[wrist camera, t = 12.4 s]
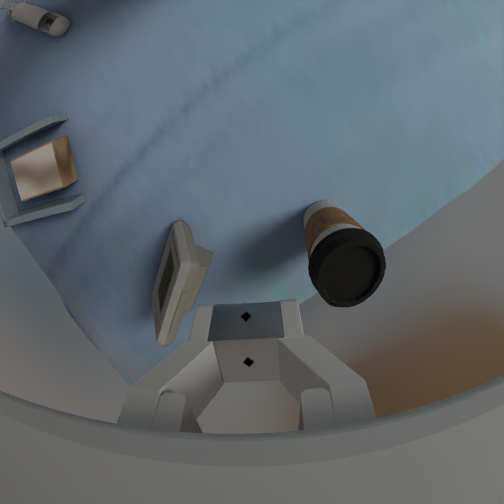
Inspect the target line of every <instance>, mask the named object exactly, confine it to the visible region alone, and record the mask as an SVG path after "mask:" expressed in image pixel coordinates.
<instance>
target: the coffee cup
mask: <svg viewBox="0 0 504 504" xmlns="http://www.w3.org/2000/svg"><path fill="white" fill-rule="evenodd" d="M303 223H304V229H305V236H306V244H307V252H308V259H309V266H308V270H309V275H310V278H311V281H312V283H313V285H314V287H315V288H316V290H317V291H318V292H319V294H320V295H321V297H322V298H323V299H324V300H325V301H326V302H327V303H328V304H329V305H331V306H334V307H351V306H355V305H358V304H360V303H362V302H363V301H365V300H366V299H367V298H368V297H370V296H371V295H372V294H373V293H374V292H375V290H376V289H377V288H378V286H379V284H380V283H381V281H382V279H383V277H384V273H385V269H386V262H385V257H384V253H383V249H382V247H381V244H380V243H379V242H378V240H377V239H376V238H375V237H374V236H373V235H372V234H371V233H369V232H367V231H366V230H365V229H364V228H363V227H362V226H361V225H359V224H358V223H357V222H356V221H355V220H354V219H353V218H352V217H350V216H349V215H348V214H347V213H346V212H345V211H343V210H342V209H341V208H340V207H339V206H338V205H337V204H335V203H334V202H332V201H328V200H321V201H317V202H315V203H313V204H312V205H311V206H309V207H308V209H307V210H306V212H305V214H304V218H303Z"/></svg>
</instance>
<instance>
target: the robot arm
mask: <svg viewBox="0 0 504 504" xmlns="http://www.w3.org/2000/svg"><path fill="white" fill-rule="evenodd" d="M268 380H280V382H281V383H282V384H283V386H284V387H285V388H286V389H287V390H288V392H289V393H290V394H291V395H292V397H293V398H294V399H295V400H296V401H297V402H298V404H299V405H300V413H299V426H298V431H290V432H274V433H252V434H212V433H203V432H202V430H201V428H200V426H199V424H198V422H197V420H196V419H197V418H198V416H199V415H200V414H201V412H202V411H203V410H204V409H205V408H206V406H207V405H208V404H209V402H210V401H211V400H212V399H213V397H214V396H215V395H216V393H217V392H218V391H219V390H220V388H221V387H222V386H223V384H224V383H223V382H244V381H268ZM0 504H504V376H502V377H500V378H498V379H496V380H494V381H491V382H489V383H487V384H484V385H482V386H480V387H477V388H475V389H472V390H470V391H467V392H465V393H462V394H459V395H456V396H454V397H451V398H448V399H445V400H442V401H439V402H436V403H433V404H430V405H426V406H423V407H420V408H416V409H413V410H409V411H405V412H402V413H398V414H394V415H390V416H385V417H381V418H376V416H375V412H374V409H373V405H372V402H371V398H370V395H369V392H368V388H367V385H366V382H365V380H364V379H363V378H361V377H360V376H359V375H358V374H356V373H355V372H354V371H353V370H351V369H350V368H349V367H348V366H346V365H345V364H344V363H342V362H341V361H340V360H339V359H337V358H336V357H335V356H334V355H333V354H331V353H330V352H329V351H328V350H326V349H325V348H324V347H323V346H321V345H320V344H319V343H318V342H316V341H315V340H314V339H313V338H311V337H310V336H304V333H303V327H302V322H301V317H300V311H299V306H298V301H297V299H290V300H281V301H275V302H262V303H248V304H247V303H243V304H215V305H199V306H198V307H197V308H196V312H195V316H194V320H193V324H192V328H191V332H190V336H189V340H188V342H183V343H182V344H180V345H179V346H178V347H177V348H176V349H175V350H173V351H172V352H171V353H170V354H169V355H168V356H166V357H165V358H164V359H163V360H162V361H160V362H159V363H158V364H157V365H156V366H155V367H153V368H152V369H151V370H150V371H149V372H147V373H146V374H145V375H144V376H143V377H141V378H140V379H139V380H138V381H137V382H135V383H134V384H133V385H132V386H131V387H130V388H129V389H128V392H127V395H126V398H125V401H124V404H123V407H122V410H121V413H120V416H119V419H118V422H117V424H115V423H110V422H105V421H100V420H95V419H90V418H86V417H82V416H78V415H73V414H70V413H66V412H62V411H58V410H55V409H52V408H48V407H45V406H42V405H39V404H36V403H33V402H30V401H27V400H24V399H21V398H18V397H15V396H13V395H10V394H8V393H5V392H3V391H0Z"/></svg>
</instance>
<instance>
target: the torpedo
mask: <svg viewBox="0 0 504 504" xmlns="http://www.w3.org/2000/svg"><path fill="white" fill-rule="evenodd" d="M14 4H17V3H12V5H11V7H6V8H1V9H7V8H8V9H9V10H8V12H7V14H9V13H11V12H12V13H11V14H9V15H11V17H12V19H13V21H12V23H13V22H14V21H18V22H21V23H23V24H26V25H28V26H30V27H32V28H35V29H37V30H39V31H44V32H46V33H48V34H50V35H51V36H61V35H63V34H64V33H65V32H66V31H67V29H68V28H69V20H68V19H67V18H66V17H64V16H62V15H59V14H57V13H54V12H52V11H49V10H46V9H43V8H41V7H37V6H34V5H31V4H28V3H27V2H26V0H24V2H21V3H19V4H17V5H14ZM48 18H49V19H52V20H55V21H54V22H53V24H52V25H50V24H47V23H46V21H47V19H48Z"/></svg>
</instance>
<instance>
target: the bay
mask: <svg viewBox="0 0 504 504" xmlns="http://www.w3.org/2000/svg"><path fill="white" fill-rule="evenodd" d="M65 120H68V117H67V112H64V113H58V114H52V115H50V116H48V117H45V118H43V119H41V120H39V121H37V122H35V123H33V124H31V125H29V126H27V127H25V128H24V129H22V130H20V131H18V132H16V133H14V134H13V135H11V136H9V137H7V138H6V139H4V140H2V141H1V142H0V215H1V218H2V221H3V224H4V227H9V226H12V225H16V224H19V223H23V222H26V221H30V220H34V219H38V218H42V217H45V216H49V215H53V214H57V213H62V212H66V211H70V210H74V209H75V208H77V207H78V206H79V205H81V204H82V203H83V202H85V201H86V197H85V193H83V194H79V195H75V196H71V197H67V198H64V199H60V200H56V201H53V202H49V203H46V204H42V205H39V206H35V207H32V208H29V209H26V210H22V211H19V209H18V206H17V203H16V200H15V196H14V193H13V189H12V186H11V182H10V178H9V174H8V170H7V166H6V162H5V157H4V153H3V150H5V149H7V148H9V147H10V146H12V145H14V144H16V143H18V142H20V141H22V140H24V139H26V138H28V137H30V136H32V135H34V134H36V133H38V132H40V131H42V130H45V129H47V128H49V127H51V126H54V125H56V124H58V123H60V122H63V121H65Z"/></svg>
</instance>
